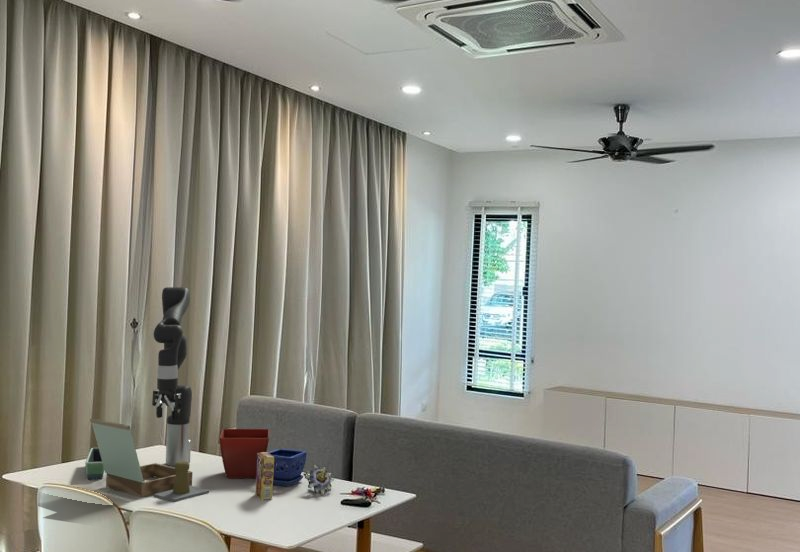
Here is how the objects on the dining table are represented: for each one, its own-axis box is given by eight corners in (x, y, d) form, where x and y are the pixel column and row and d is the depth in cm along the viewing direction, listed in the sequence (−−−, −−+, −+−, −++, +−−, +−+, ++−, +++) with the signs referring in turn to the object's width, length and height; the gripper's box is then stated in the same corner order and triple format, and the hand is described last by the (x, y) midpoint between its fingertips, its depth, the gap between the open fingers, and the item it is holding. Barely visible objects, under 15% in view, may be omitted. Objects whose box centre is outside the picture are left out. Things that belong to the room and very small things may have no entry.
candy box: (273, 499, 275) (274, 456, 275) (261, 500, 273) (263, 457, 273) (266, 493, 283) (267, 451, 283) (255, 494, 281) (256, 452, 281)
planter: (90, 465, 319) (90, 447, 319) (108, 464, 321) (109, 447, 321) (84, 481, 293) (85, 462, 293) (104, 480, 295) (105, 461, 295)
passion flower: (321, 508, 283) (311, 486, 277) (303, 497, 291) (292, 475, 285) (342, 487, 290) (333, 465, 283) (323, 477, 297) (314, 455, 291)
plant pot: (267, 480, 301) (268, 437, 301) (218, 481, 298) (219, 437, 298) (268, 469, 320) (269, 428, 320) (221, 469, 317) (222, 428, 317)
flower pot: (260, 484, 294) (261, 453, 294) (278, 477, 307) (278, 447, 307) (290, 489, 289) (291, 457, 289) (307, 481, 302) (308, 451, 302)
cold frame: (154, 475, 303) (155, 463, 303) (192, 485, 291) (192, 471, 291) (106, 486, 285) (106, 473, 285) (143, 497, 273) (143, 483, 273)
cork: (174, 489, 280) (175, 459, 281) (191, 489, 281) (192, 459, 281) (171, 494, 274) (172, 463, 275) (188, 494, 275) (189, 463, 275)
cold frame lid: (92, 418, 280) (89, 419, 279) (129, 425, 268) (127, 426, 267) (106, 472, 285) (104, 473, 284) (143, 481, 273) (141, 483, 272)
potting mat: (189, 487, 287) (189, 485, 287) (209, 492, 281) (209, 490, 281) (153, 496, 274) (154, 494, 274) (174, 501, 268) (174, 499, 268)
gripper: (187, 377, 292) (187, 419, 292) (163, 373, 300) (162, 415, 300) (172, 379, 286) (171, 423, 286) (147, 375, 293) (146, 418, 294)
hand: (166, 418), depth 293 cm, fingers open, 8 cm apart
